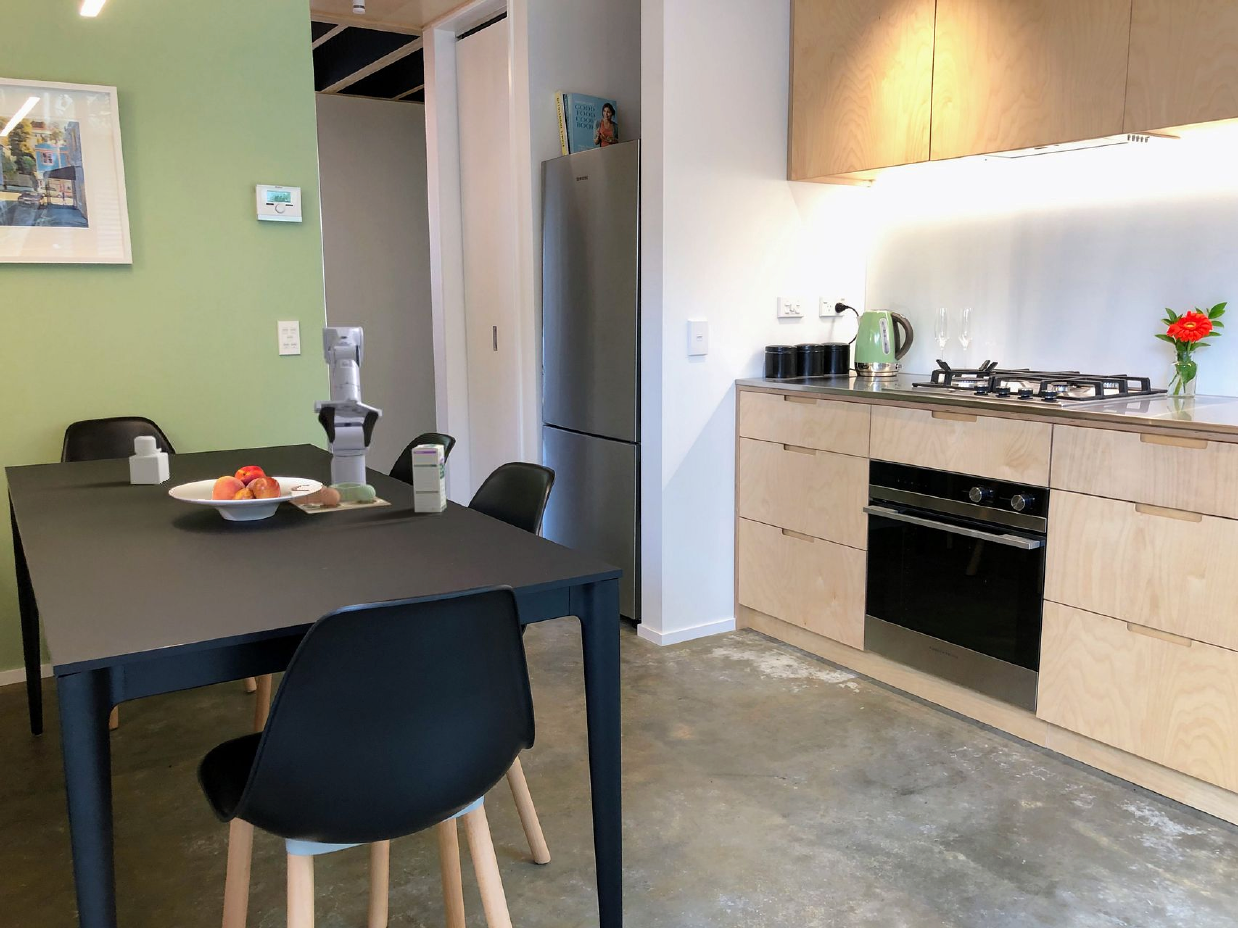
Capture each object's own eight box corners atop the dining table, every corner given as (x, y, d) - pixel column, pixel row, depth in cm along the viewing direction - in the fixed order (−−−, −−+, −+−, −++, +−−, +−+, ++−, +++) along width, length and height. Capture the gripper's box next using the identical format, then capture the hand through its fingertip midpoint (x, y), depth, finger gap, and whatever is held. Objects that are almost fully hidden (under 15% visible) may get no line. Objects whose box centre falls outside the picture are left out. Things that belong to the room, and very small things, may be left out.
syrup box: (441, 515, 205) (439, 447, 202) (413, 515, 205) (411, 447, 202) (446, 510, 210) (444, 444, 208) (419, 510, 210) (417, 444, 208)
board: (287, 503, 218) (286, 498, 218) (365, 495, 228) (365, 490, 228) (309, 516, 203) (308, 511, 203) (391, 507, 213) (391, 502, 213)
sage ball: (354, 501, 216) (354, 484, 215) (372, 500, 218) (371, 482, 217) (360, 504, 212) (359, 486, 212) (378, 502, 214) (377, 485, 214)
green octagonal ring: (327, 497, 221) (326, 484, 220) (358, 494, 225) (357, 481, 224) (336, 502, 215) (336, 489, 214) (368, 499, 219) (368, 486, 218)
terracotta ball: (318, 505, 211) (317, 487, 211) (336, 503, 213) (336, 486, 213) (323, 508, 208) (322, 490, 207) (342, 506, 210) (341, 488, 210)
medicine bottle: (141, 480, 250) (137, 434, 248) (170, 479, 251) (166, 433, 249) (130, 485, 243) (126, 437, 241) (160, 484, 244) (156, 437, 242)
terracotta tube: (289, 499, 218) (288, 486, 218) (321, 496, 222) (320, 483, 222) (297, 505, 212) (296, 491, 212) (330, 501, 216) (329, 488, 216)
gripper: (319, 376, 210) (321, 428, 204) (384, 385, 217) (388, 436, 211) (310, 394, 215) (312, 446, 209) (375, 403, 223) (378, 453, 216)
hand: (350, 442), depth 210 cm, fingers open, 7 cm apart
